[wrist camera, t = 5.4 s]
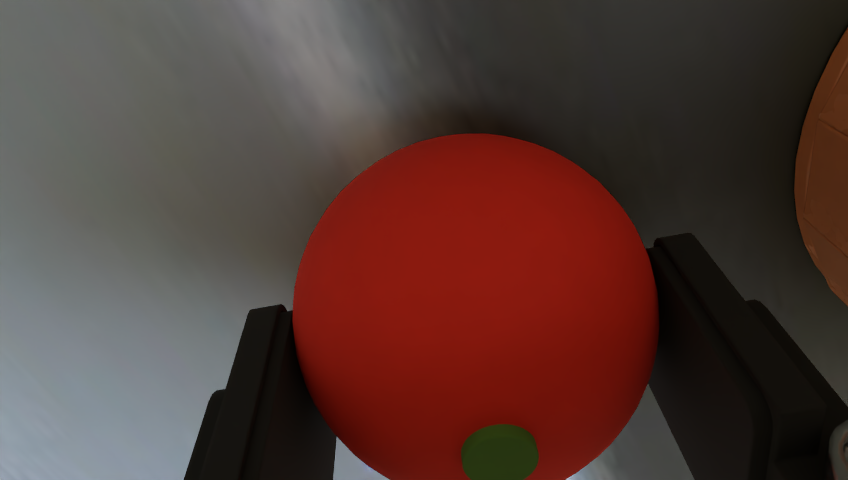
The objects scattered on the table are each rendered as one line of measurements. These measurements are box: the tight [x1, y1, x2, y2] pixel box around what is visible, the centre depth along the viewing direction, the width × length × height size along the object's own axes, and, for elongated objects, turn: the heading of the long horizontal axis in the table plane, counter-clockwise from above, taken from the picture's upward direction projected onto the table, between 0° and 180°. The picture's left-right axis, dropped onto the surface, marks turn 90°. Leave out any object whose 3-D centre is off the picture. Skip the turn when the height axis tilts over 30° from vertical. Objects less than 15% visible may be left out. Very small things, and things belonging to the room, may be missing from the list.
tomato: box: [292, 133, 659, 480], centre depth 11 cm, size 6×6×6 cm
